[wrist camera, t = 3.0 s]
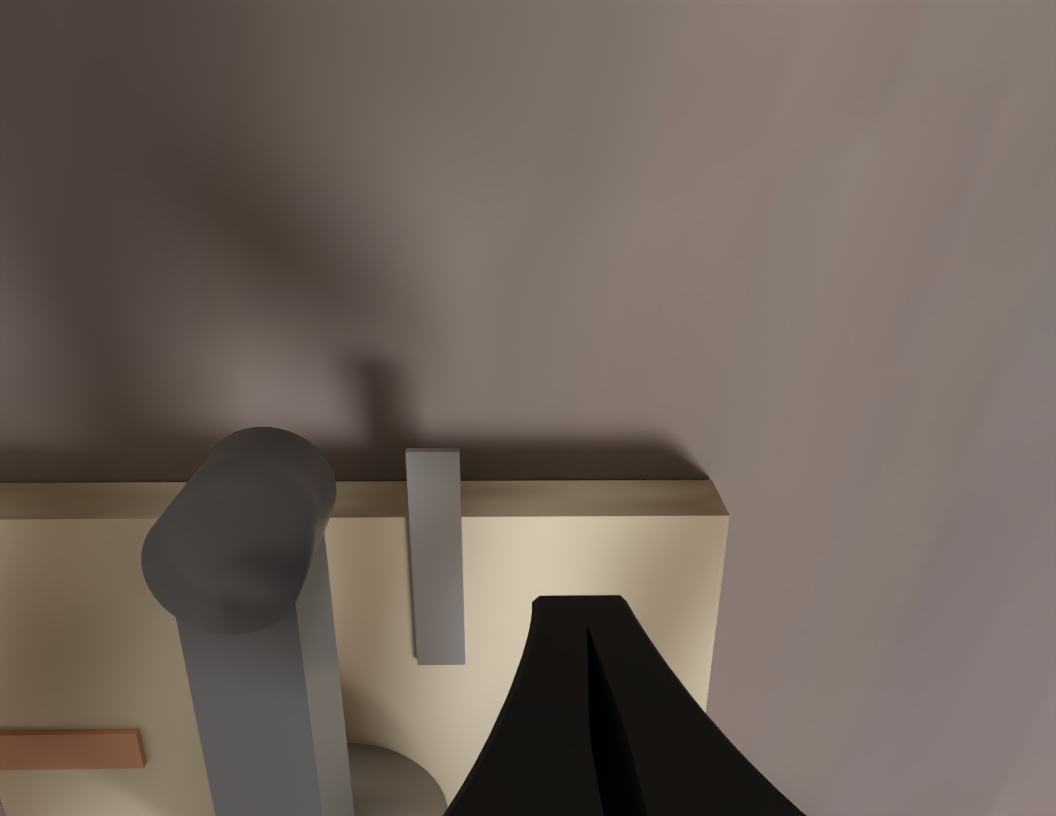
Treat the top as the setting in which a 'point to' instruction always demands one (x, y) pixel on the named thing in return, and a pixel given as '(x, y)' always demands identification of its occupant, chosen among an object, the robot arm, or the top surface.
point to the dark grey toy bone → (258, 623)
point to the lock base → (359, 619)
